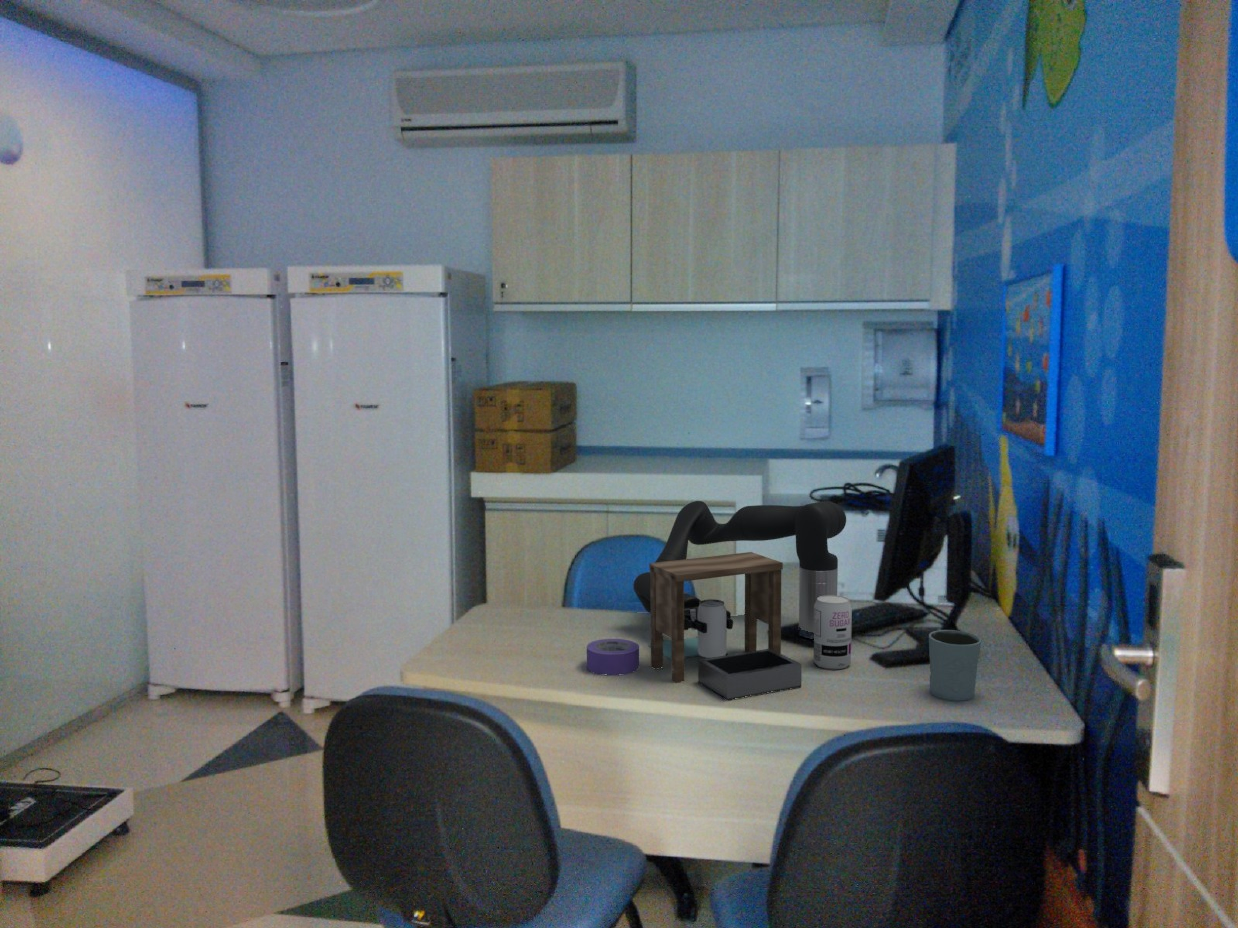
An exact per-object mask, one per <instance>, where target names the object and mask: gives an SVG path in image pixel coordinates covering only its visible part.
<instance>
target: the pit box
mask: <svg viewBox="0 0 1238 928" xmlns="http://www.w3.org/2000/svg"><path fill="white" fill-rule="evenodd" d="M697 664H698V665H697V678H698V679H697V681H698V682H697V683H698V684H700V685H701V684H702V686H703V687H704V688H706V689H708V690H709V691H711V692H712V691H713V692H712V693H713V694H716V695H717V696H719V697H720V698H722V699H724V698H725V699H726V700H725V699H724V700H725V701H727V700H728V701H731V700H730V699H734V700H736V699H735V698H739V699H743V698H742V697H744V698H746V697H745V696H750V695H755V696H759V695H758V694H761V695H763V694H762V693H766V694H768V693H767V692H771V691H777V692H781V691H780V690H783V691H787V690H786V689H788V690H791V689H790V688H794V689H798V687H799V688H802V678H803V677H802V671H803V670H802V667H803V666H802V665H803V664H802V663H801V662H798V661H797V660H795V659H792V658H790V657H788V656H786V655H784V654H782V653H781V654H780V653H778V652H776V651H774V650H772V649H770V648H769V649H768V648H764V649H756V651H751V652H745V651H744V652H739V653H733V654H727V655H726V654H725V656H720V657H713V658H703V659H702V658H701V659H697ZM750 697H751V696H750Z"/></svg>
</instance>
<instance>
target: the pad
mask: <svg viewBox="0 0 1238 928" xmlns="http://www.w3.org/2000/svg"><path fill="white" fill-rule="evenodd" d="M647 645H648V647H649V648H651V643H650V644H647ZM699 656H700V655H699V654H698V636H696V637H689V638H684V659H687V658H686V657H688V658H694V657H699ZM663 657H665V658H667V657H668V659H669V658H670V659H669V660H671V661H672V640H668V641H663ZM700 657H701V656H700Z"/></svg>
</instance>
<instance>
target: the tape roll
mask: <svg viewBox="0 0 1238 928" xmlns="http://www.w3.org/2000/svg"><path fill="white" fill-rule="evenodd" d="M637 669H638V670H639V669H640V645H639V644H638V643H637V642H635V641H632V640H629V639H623V638H603V639H597V640H594V641H591V642H589V643H588V644H587V645H586V670H587V671H589V672H590V671H592V672H591V673H593V672H594V673H593V674H595V673H597V674H596V675H600V674H607V675H606V676H620V675H619V674H624V675H629V674H632V673H634V672H633V671H635V672H637V671H638V670H637ZM628 673H629V674H628Z"/></svg>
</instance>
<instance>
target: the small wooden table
mask: <svg viewBox="0 0 1238 928" xmlns="http://www.w3.org/2000/svg"><path fill="white" fill-rule="evenodd" d="M783 566H784V564H783V562H782V561H779V560H777V559H774V558H773V559H772V558H770V557H768V556H764V555H761V554H758V553H755V552H752V551H748V552H740V553H730V554H721V555H711V556H702V557H697V558H694V557H693V558H686V559H684V560H675V561H666V562H657V563H655V562H650V563H649V564H648V567H649V568H648V569H649V572H650V591H651V613H650V644H651V647H650V667H651V668H653V669H654V668H655V669H654V670H658V669H657V668H659V669H662V668H661V667H663V668H664V655H663V642H664V636H666V637H668V638H670V639H671V641H672V660H671V681H673V682H674V681H675V683H676V684H677V682H678V683H682V682H681V681H684V682H685V658H684V639H685V630H684V592H685V582H690V581H699V580H707V579H713V578H714V579H715V578H723V577H731V576H732V577H733V576H739V575H744V652H751V651H757V650H758V649H757V646H758V645H757V644H758V643H757V637H758V635H757V632H758V631H757V629H758V628H757V626H758V621H757V620H759V621H760V622H762V623H764V624H767V625H768V627H767V628H768V634H767V636H768V639H767V642H768V643H767V649H769V648H770V649H772V650H774V651H776V652H778V653H780V654H782V649H781V648H782V570H783V569H784V567H783Z"/></svg>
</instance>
